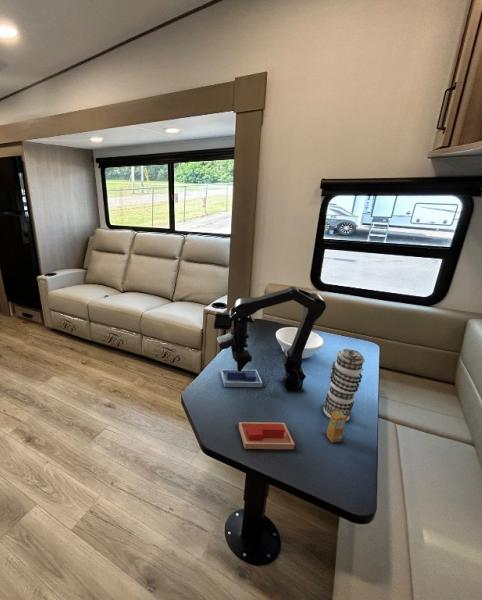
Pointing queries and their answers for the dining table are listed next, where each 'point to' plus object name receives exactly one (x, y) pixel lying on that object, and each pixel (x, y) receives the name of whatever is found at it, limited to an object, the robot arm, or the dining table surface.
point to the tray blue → (240, 382)
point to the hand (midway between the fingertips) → (236, 364)
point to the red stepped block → (264, 432)
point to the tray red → (267, 442)
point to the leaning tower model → (344, 382)
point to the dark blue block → (241, 375)
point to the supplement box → (336, 426)
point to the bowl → (287, 338)
